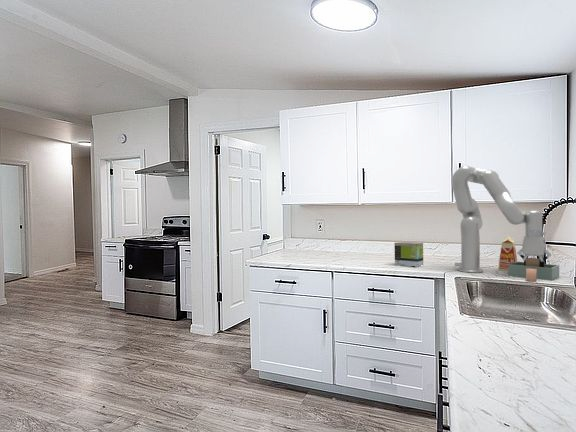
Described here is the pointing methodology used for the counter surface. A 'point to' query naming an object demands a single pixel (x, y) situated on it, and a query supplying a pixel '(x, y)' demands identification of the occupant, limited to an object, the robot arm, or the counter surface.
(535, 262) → the walnut block
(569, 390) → the counter surface
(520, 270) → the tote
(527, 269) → the terracotta jar
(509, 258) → the milk carton
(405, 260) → the tea box
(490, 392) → the counter surface
